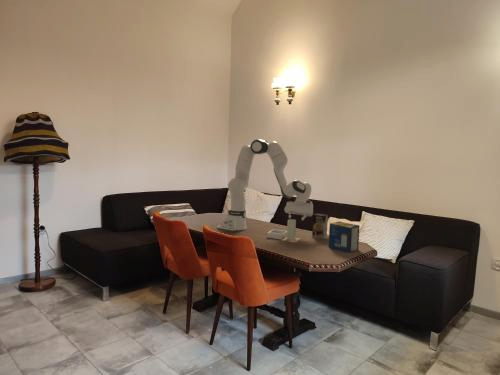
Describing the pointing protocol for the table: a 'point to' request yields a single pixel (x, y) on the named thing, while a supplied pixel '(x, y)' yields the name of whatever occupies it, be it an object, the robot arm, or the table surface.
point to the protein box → (344, 236)
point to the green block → (291, 229)
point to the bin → (277, 234)
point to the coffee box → (320, 226)
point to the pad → (291, 240)
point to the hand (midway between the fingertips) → (295, 218)
